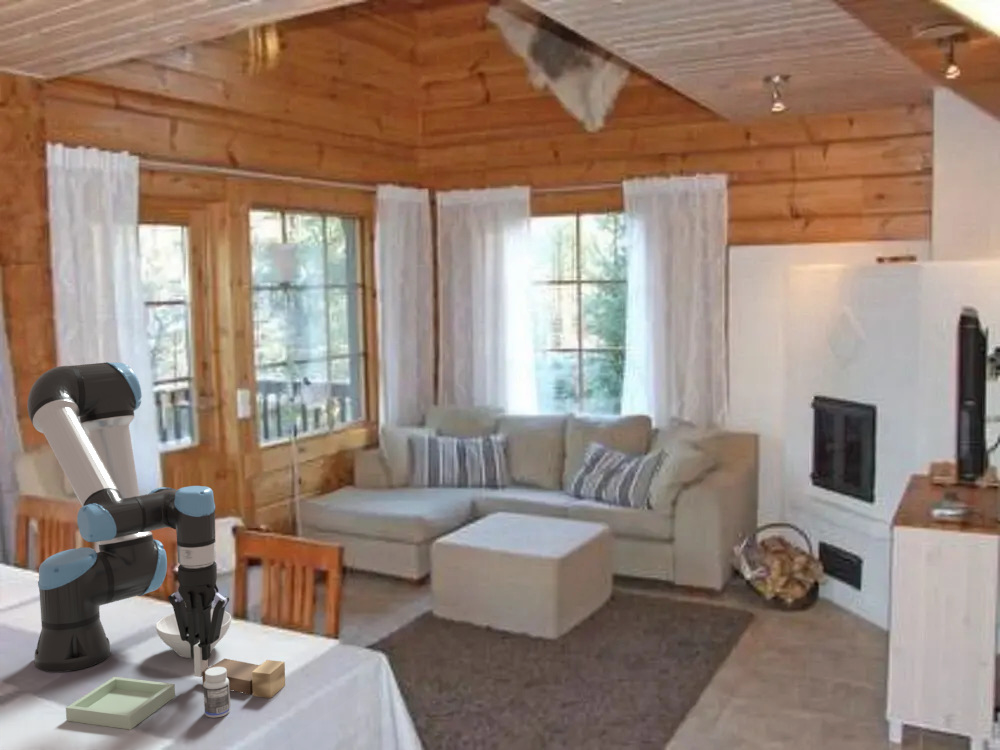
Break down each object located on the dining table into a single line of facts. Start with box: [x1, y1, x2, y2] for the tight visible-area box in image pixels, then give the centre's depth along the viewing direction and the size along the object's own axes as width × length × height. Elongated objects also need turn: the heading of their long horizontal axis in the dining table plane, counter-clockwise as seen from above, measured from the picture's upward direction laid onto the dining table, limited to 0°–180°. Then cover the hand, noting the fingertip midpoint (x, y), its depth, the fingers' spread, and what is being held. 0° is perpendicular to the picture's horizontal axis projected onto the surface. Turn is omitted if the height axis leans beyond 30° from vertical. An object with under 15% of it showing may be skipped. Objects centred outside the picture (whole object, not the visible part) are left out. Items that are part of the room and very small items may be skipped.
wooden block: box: [252, 659, 286, 699], centre depth 188 cm, size 4×6×5 cm, turn 165°
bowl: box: [155, 608, 232, 659], centre depth 208 cm, size 16×16×7 cm
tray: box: [65, 676, 176, 730], centre depth 181 cm, size 14×14×3 cm
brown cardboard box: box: [201, 658, 261, 695], centre depth 192 cm, size 12×7×3 cm, turn 67°
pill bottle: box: [203, 667, 231, 719], centre depth 179 cm, size 5×5×8 cm
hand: (201, 673), depth 192 cm, fingers closed
